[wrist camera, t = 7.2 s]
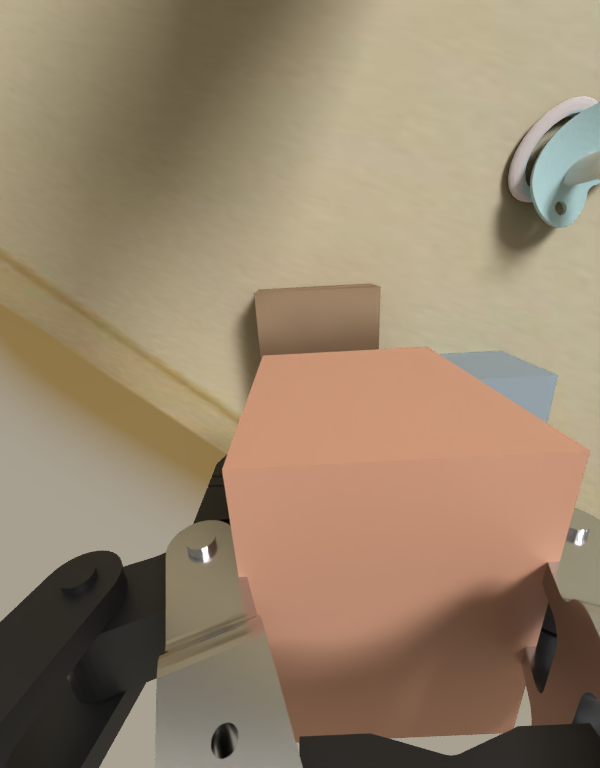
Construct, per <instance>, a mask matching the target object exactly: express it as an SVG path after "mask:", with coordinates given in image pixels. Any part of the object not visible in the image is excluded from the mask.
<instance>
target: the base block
mask: <svg viewBox="0 0 600 768" xmlns="http://www.w3.org/2000/svg"><path fill="white" fill-rule="evenodd" d="M254 297H255V308H256V318H257V329H258V339H259V350H260V360H261V359H262V357H263V356H265V355H284V354H302V353H321V352H339V351H358V350H376V349H379V318H380V286H376V285H373V284H356V285H338V286H319V287H300V288H282V289H263V290H258V291H257V292H255V293H254Z"/></svg>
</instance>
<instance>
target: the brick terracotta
mask: <svg viewBox="0 0 600 768" xmlns="http://www.w3.org/2000/svg"><path fill="white" fill-rule="evenodd" d="M589 454H590V450H588V449H587V448H585V447H584V446H582V445H580V444H579V443H577V442H576V441H574V440H573V439H571V438H570V437H568V436H566V435H565V434H563V433H562V432H560V431H559V430H557V429H555V428H554V427H552V426H551V425H549V424H548V423H546V422H544V421H543V420H541V419H540V418H538V417H537V416H535V415H533V414H532V413H530V412H529V411H527V410H526V409H524V408H522V407H521V406H519V405H518V404H516V403H515V402H513V401H512V400H510V399H508V398H507V397H505V396H504V395H502V394H501V393H499V392H497V391H496V390H494V389H493V388H491V387H490V386H488V385H486V384H485V383H483V382H482V381H480V380H479V379H477V378H475V377H474V376H472V375H471V374H469V373H468V372H466V371H464V370H463V369H461V368H460V367H458V366H457V365H455V364H454V363H452V362H450V361H449V360H447V359H446V358H444V357H443V356H441V355H439V354H438V353H436V352H435V351H433V350H432V349H430V348H428V347H413V348H395V349H376V350H358V351H339V352H321V353H302V354H284V355H265V356H263V357H262V359H261V362H260V365H259V368H258V371H257V373H256V376H255V379H254V382H253V385H252V387H251V390H250V393H249V396H248V399H247V401H246V404H245V407H244V410H243V413H242V415H241V418H240V421H239V424H238V426H237V429H236V432H235V435H234V438H233V440H232V443H231V446H230V449H229V452H228V454H227V457H226V460H225V463H224V466H223V468H222V473H223V479H224V486H225V492H226V499H227V505H228V512H229V518H230V525H231V531H232V538H233V544H234V551H235V557H236V564H237V570H238V577H247V578H248V582H249V586H250V590H251V593H252V597H253V601H254V605H255V608H256V612H257V615H260V616H261V619H262V622H263V625H264V628H265V632H266V635H267V639H268V643H269V646H270V650H271V653H272V657H273V661H274V664H275V668H276V672H277V675H278V679H279V683H280V686H281V690H282V693H283V697H284V701H285V704H286V708H287V712H288V715H289V719H290V723H291V726H292V730H293V733H294V737H295V741H296V743H297V742H299V737H300V736H322V735H344V734H365V733H371V734H375V735H378V736H382V737H385V738H406V737H427V736H428V737H429V736H451V735H473V734H495V733H505V732H507V731H510V730H512V729H514V725H515V722H516V718H517V714H518V711H519V707H520V704H521V700H522V696H523V693H524V689H525V686H526V683H525V678H524V674H523V670H522V665H521V662H522V658H523V654H524V650H525V647H531V646H537V642H538V639H539V635H540V631H541V628H542V624H543V620H544V617H545V613H546V610H547V606H548V599H547V596H546V593H545V591H544V588H543V585H542V582H543V578H544V574H545V570H546V566H547V562H560V559H561V555H562V552H563V548H564V544H565V541H566V537H567V533H568V530H569V526H570V523H571V519H572V515H573V512H574V508H575V504H576V501H577V497H578V494H579V490H580V486H581V483H582V479H583V475H584V472H585V468H586V465H587V461H588V457H589Z"/></svg>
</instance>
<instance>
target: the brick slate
mask: <svg viewBox="0 0 600 768" xmlns="http://www.w3.org/2000/svg"><path fill="white" fill-rule="evenodd" d="M439 355H441V356H443V357H444V358H446V359H447V360H449V361H450V362H452V363H454V364H455V365H457V366H458V367H460V368H461V369H463V370H464V371H466V372H468V373H469V374H471V375H472V376H474V377H475V378H477V379H479V380H480V381H482V382H483V383H485V384H486V385H488V386H490V387H491V388H493V389H494V390H496V391H497V392H499V393H501V394H502V395H504V396H505V397H507V398H508V399H510V400H512V401H513V402H515V403H516V404H518V405H519V406H521V407H522V408H524V409H526V410H527V411H529V412H530V413H532V414H533V415H535V416H537V417H538V418H540V419H541V420H543V421H544V422H546V423H547V422H548V417H549V413H550V408H551V404H552V399H553V395H554V390H555V386H556V382H557V377H558V375H556V374H554V373H552V372H550V371H547V370H545V369H543V368H540V367H538V366H536V365H533V364H531V363H529V362H526V361H524V360H522V359H520V358H517V357H515V356H513V355H510V354H508V353H506V352H503V351H486V352H467V353H448V354H439Z"/></svg>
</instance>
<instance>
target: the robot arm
mask: <svg viewBox="0 0 600 768" xmlns="http://www.w3.org/2000/svg"><path fill="white" fill-rule="evenodd" d="M226 457H227V455H226V456H225V457H224V458H223V459H222V460H221V461H220V462H218V464H217V465H216V467H215V470H214V473H213V475H212V478H211V480H210V483H209V485H208V488H207V490H206V493H205V496H204V498H203V501H202V503H201V506H200V508H199V511H198V513H197V516H196V518H195V521H194V523H193V524H192V525H190V526H188V527H187V528H185V529H183V530H182V531H180V532H179V533H178V534H177V535H176V536H175V537H174V538H173V539H172V541H171V542H170V544H169V545H168V548H167V551H166V553H164V554H162V555H159V556H156V557H154V558H150V559H147V560H144V561H141V562H138V563H134V564H131V565H128V566H125V567H123V565H122V562H121V560H120V557H118V555H117V554H115V553H113V552H110V551H95V552H90V553H86V554H83V555H81V556H78V557H76V558H74V559H72V560H70V561H68V562H67V563H65V564H63V565H62V566H60V567H59V568H58V569H56V570H55V571H54V572H53V573H52V574H51V575H50V576H48V577H47V578H46V579H45V580H44V581H43V582H42V583H41V584H40V585H39V586H38V587H37V588H36V589H35V590H34V591H33V592H31V593H30V594H29V596H27V597H26V598H25V599H24V600H23V601H22V602H21V603H20V604H19V605H18V606H17V607H16V608H15V609H14V610H13V611H12V612H10V613H9V614H8V615H7V616H6V617H5V618H4V619H3V620H2V621H1V622H0V768H99V766H100V765H101V763H102V761H103V759H104V757H105V756H106V754H107V752H108V750H109V748H110V747H111V745H112V743H113V741H114V739H115V738H116V736H117V734H118V732H119V731H120V729H121V727H122V725H123V723H124V721H125V719H126V718H127V716H128V714H129V713H130V711H131V709H132V707H133V705H134V704H135V702H136V700H137V698H138V696H139V695H140V693H141V691H142V689H143V687H144V685H145V684H146V682H148V681H151V680H153V679H156V678H157V690H156V691H157V692H156V735H155V736H156V737H155V768H600V520H599V519H597V518H595V517H594V516H592V515H590V514H588V513H586V512H584V511H582V510H579V509H576V508H574V512H573V515H572V519H571V523H570V526H569V530H568V533H567V537H566V541H565V544H564V548H563V552H562V555H561V559H560V562H547V566H546V570H545V574H544V578H543V582H542V585H543V588H544V591H545V593H546V596H547V599H548V606H547V610H546V613H545V617H544V620H543V624H542V628H541V631H540V635H539V639H538V642H537V646H531V647H525V650H524V654H523V658H522V662H521V665H522V670H523V674H524V678H525V683H526V687H527V691H528V696H529V700H530V706H531V714H532V726H518V727H516V728H514V729H512V730H510V731H507V732H505V733H503V734H501V735H499V736H497V737H495V738H493V739H491V740H488V741H486V742H484V743H482V744H480V745H478V746H476V747H474V748H471V749H470V750H467V751H465V752H463V753H461V754H458V755H453V756H449V755H444V754H440V753H437V752H433V751H430V750H426V749H422V748H420V747H416V746H413V745H409V744H406V743H402V742H399V741H395V740H392V739H389V738H385V737H382V736H378V735H375V734H371V733H365V734H344V735H322V736H300V737H299V744H300V755H299V752H298V748H297V745H296V741H295V737H294V733H293V730H292V726H291V723H290V719H289V715H288V712H287V708H286V704H285V701H284V697H283V693H282V690H281V686H280V683H279V679H278V675H277V672H276V668H275V664H274V661H273V657H272V653H271V650H270V646H269V643H268V639H267V635H266V632H265V628H264V625H263V622H262V619H261V616H260V615H257V612H256V608H255V605H254V601H253V597H252V593H251V590H250V586H249V582H248V578H247V577H238V570H237V564H236V557H235V551H234V544H233V538H232V531H231V525H230V518H229V512H228V505H227V499H226V492H225V486H224V479H223V473H222V468H223V466H224V463H225V460H226Z"/></svg>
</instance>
